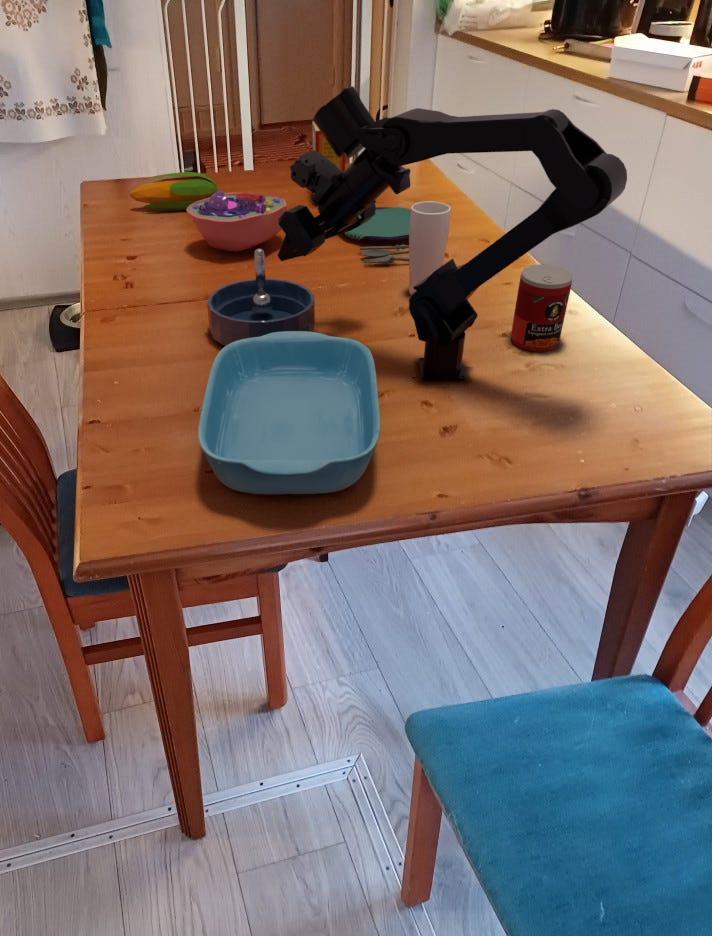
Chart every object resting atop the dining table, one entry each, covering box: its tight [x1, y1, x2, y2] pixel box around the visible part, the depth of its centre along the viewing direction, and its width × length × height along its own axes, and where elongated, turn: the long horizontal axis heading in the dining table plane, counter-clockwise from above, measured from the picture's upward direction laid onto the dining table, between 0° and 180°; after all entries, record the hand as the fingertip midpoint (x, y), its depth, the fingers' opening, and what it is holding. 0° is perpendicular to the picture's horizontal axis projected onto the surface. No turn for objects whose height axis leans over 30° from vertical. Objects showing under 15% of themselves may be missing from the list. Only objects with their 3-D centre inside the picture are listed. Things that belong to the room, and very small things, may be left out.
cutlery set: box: [344, 206, 411, 265], centre depth 160 cm, size 20×30×2 cm, turn 3°
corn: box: [129, 171, 219, 212], centre depth 176 cm, size 7×8×20 cm
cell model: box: [186, 190, 288, 253], centre depth 155 cm, size 17×20×11 cm
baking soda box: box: [311, 120, 346, 207], centre depth 177 cm, size 10×6×16 cm
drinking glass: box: [408, 200, 452, 296], centre depth 135 cm, size 7×7×15 cm
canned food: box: [510, 264, 574, 353], centre depth 121 cm, size 8×8×11 cm
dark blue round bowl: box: [206, 278, 316, 347], centre depth 127 cm, size 17×17×6 cm
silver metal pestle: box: [251, 248, 273, 315], centre depth 128 cm, size 4×4×11 cm
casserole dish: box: [197, 331, 381, 495], centre depth 102 cm, size 37×22×7 cm, turn 179°
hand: (297, 248), depth 120 cm, fingers open, 9 cm apart
